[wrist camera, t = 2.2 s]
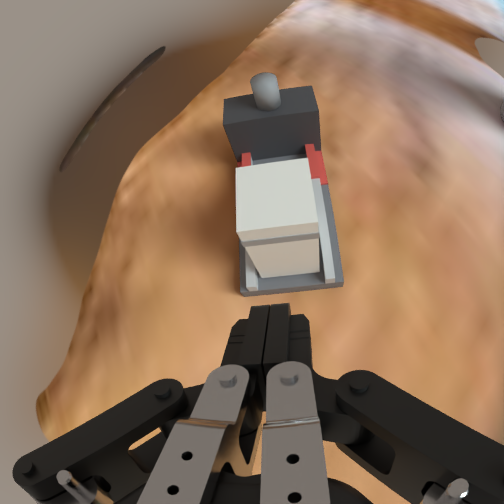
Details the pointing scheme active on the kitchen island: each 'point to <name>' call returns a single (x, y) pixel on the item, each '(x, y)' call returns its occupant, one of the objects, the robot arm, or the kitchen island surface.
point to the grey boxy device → (281, 149)
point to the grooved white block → (278, 217)
